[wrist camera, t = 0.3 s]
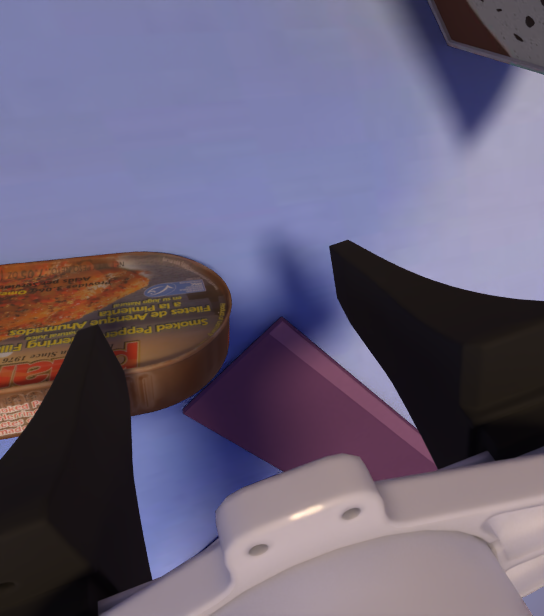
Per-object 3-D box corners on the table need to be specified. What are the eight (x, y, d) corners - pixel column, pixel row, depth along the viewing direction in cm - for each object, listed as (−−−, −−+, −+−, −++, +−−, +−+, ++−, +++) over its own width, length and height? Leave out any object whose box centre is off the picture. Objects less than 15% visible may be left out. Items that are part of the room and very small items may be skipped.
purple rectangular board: (369, 518, 41) (372, 524, 41) (182, 409, 30) (183, 415, 30) (448, 455, 40) (452, 460, 39) (281, 315, 29) (284, 320, 28)
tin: (211, 243, 25) (254, 339, 18) (214, 299, 27) (253, 406, 20) (-147, 276, 22) (-263, 412, 15) (-120, 339, 23) (-212, 487, 16)
